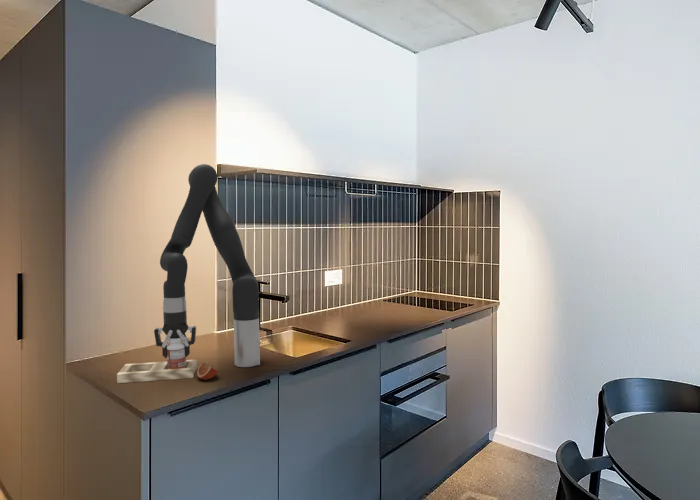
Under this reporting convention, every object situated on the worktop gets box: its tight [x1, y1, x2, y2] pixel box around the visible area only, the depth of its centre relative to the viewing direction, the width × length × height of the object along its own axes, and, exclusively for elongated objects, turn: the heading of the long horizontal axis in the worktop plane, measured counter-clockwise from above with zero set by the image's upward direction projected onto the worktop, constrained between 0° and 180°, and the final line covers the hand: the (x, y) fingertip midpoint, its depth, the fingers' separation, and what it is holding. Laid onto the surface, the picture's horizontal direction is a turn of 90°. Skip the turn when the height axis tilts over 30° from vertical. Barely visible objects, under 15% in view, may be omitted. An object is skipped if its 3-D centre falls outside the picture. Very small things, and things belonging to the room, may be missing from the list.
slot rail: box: [116, 359, 198, 384], centre depth 162 cm, size 24×11×3 cm, turn 102°
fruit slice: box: [196, 361, 219, 381], centre depth 159 cm, size 8×7×5 cm
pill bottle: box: [166, 337, 187, 369], centre depth 163 cm, size 6×6×11 cm
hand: (176, 356), depth 163 cm, fingers closed on pill bottle, 6 cm apart
